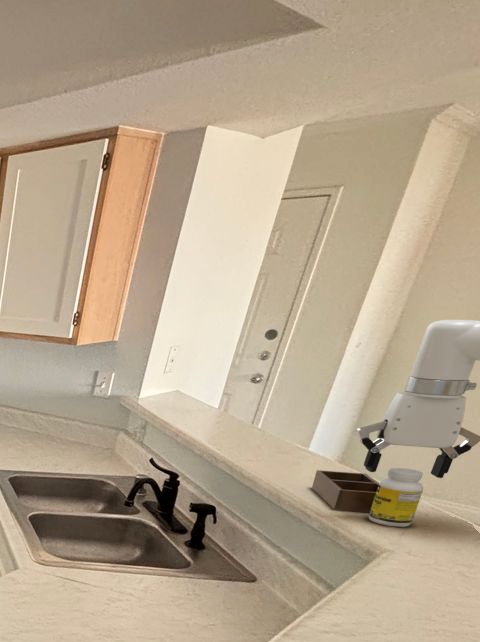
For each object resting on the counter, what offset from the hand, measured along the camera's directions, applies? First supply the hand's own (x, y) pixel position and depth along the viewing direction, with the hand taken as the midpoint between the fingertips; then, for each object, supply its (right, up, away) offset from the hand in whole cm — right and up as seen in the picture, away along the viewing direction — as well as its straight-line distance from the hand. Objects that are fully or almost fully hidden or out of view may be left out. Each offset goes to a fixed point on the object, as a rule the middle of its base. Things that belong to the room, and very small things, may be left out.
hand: (402, 473), depth 117 cm
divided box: (+5, -5, +16) cm, 18 cm away
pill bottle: (+1, -10, +3) cm, 11 cm away
